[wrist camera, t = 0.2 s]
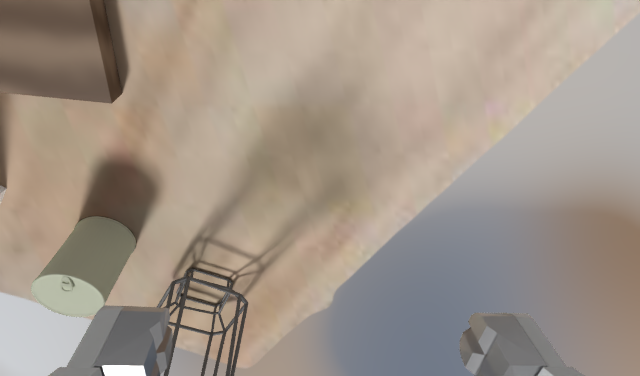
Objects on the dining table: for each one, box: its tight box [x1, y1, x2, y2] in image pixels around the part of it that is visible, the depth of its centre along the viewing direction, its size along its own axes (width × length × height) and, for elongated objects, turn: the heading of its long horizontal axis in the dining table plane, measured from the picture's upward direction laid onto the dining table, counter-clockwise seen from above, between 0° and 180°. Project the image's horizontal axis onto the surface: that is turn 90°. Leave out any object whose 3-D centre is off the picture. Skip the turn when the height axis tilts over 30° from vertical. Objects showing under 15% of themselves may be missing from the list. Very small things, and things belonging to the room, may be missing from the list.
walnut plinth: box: [0, 0, 122, 103], centre depth 38 cm, size 18×16×3 cm
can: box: [31, 216, 136, 317], centre depth 54 cm, size 9×9×12 cm
